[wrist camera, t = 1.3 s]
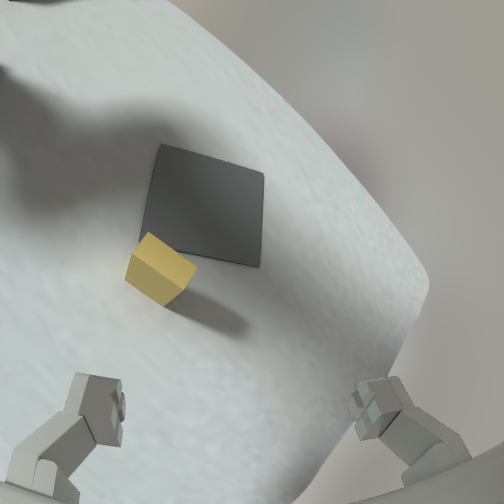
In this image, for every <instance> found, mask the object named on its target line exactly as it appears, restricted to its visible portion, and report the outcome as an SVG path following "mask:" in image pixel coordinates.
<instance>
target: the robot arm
mask: <svg viewBox="0 0 504 504" xmlns="http://www.w3.org/2000/svg"><path fill="white" fill-rule="evenodd" d="M356 387H357V391H356V392H354V393H353V394H352V395H351V397H350V399H349V403H348V409H349V414H350V416H351V418H352V419H354V420H355V421H356V424H355V429H356V432H357V434H358V437H359V439H360V441H362V440H368V439H373V438H379V437H380V438H379V439H380V440H381V441H382V442H383V443H384V444H385V445H386V446H388V447H389V448H390V449H391V450H392V451H393V452H394V453H395V454H396V455H397V456H398V457H400V458H401V459H402V460H403V461H404V462H405V463H406V464H407V465H409V466H410V468H408V469H407V470H406V471H405V472H404V473H403V474H402V476H401V478H402V480H403V483H404V486H405V487H404V488H401V489H399V490H396V491H392V492H389V493H386V494H383V495H380V496H377V497H373V498H369V499H366V500H362V501H358V502H354V503H350V504H504V442H502V443H500V444H498V445H497V446H495V447H493V448H491V449H489V450H488V451H486V452H484V453H482V454H480V455H478V456H476V457H474V458H472V457H471V455H470V453H469V451H468V449H467V448H466V446H465V444H464V442H463V440H462V438H461V436H460V435H459V434H458V433H456V432H455V431H453V430H452V429H450V428H449V427H447V426H445V425H444V424H443V423H441V422H440V421H438V420H437V419H435V418H434V417H432V416H431V415H429V414H428V413H426V412H425V411H423V410H422V409H420V408H419V407H415V406H414V405H413V403H412V401H411V399H410V397H409V396H408V394H407V392H406V390H405V388H404V386H403V384H402V383H401V381H400V379H399V378H398V377H397V376H392V377H385V378H376V379H368V380H362V381H360V382H359V383H358V385H357V386H356ZM121 391H122V382H121V379H114V378H108V377H102V376H96V375H90V374H84V373H78V372H77V373H76V374H75V375H74V377H73V380H72V383H71V387H70V390H69V393H68V397H67V400H66V403H65V407H64V410H63V412H61V411H59V412H57V413H56V414H55V415H54V416H53V417H51V418H50V419H49V420H48V421H47V422H45V423H44V424H43V425H42V426H41V427H39V428H38V429H37V430H36V431H35V432H33V433H32V434H31V435H30V436H28V437H27V438H26V439H25V440H24V441H22V442H21V443H20V444H19V445H18V446H16V447H15V448H14V450H13V453H12V457H11V461H10V464H9V468H8V472H7V476H6V480H5V482H2V481H0V504H79V496H80V492H79V491H78V489H77V488H76V487H75V486H74V485H73V484H72V483H71V481H70V480H69V479H68V478H69V476H70V475H71V474H72V473H73V472H74V471H75V470H76V468H77V467H78V466H79V465H80V464H81V463H82V462H83V460H84V459H85V458H86V457H87V456H88V455H89V454H90V452H91V451H92V450H93V449H94V448H95V447H96V446H97V445H96V444H100V445H107V446H115V447H121V441H122V434H123V429H122V426H121V422H122V421H124V419H125V407H126V403H125V395H124V393H123V392H121Z"/></svg>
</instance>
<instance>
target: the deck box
mask: <svg viewBox="0 0 504 504" xmlns="http://www.w3.org/2000/svg"><path fill="white" fill-rule="evenodd" d="M197 268H198V266H196V265H195V264H193V263H192V262H190V261H189V260H188V259H186V258H185V257H183V256H182V255H180V254H179V253H178V252H176V251H175V250H173V249H172V248H171V247H169V246H168V245H166V244H165V243H163V242H162V241H161V240H159V239H158V238H156V237H155V236H154V235H152V234H151V233H150V232H148V233H147V234H146V235H145V237H144V238H143V239H142V241H141V242H140V243H139V245H138V246H137V247H136V249H135V250H134V252H133V253H132V255H131V259H130V262H129V266H128V269H127V273H126V277H125V280H126V281H127V282H128V283H130V284H131V285H133V286H134V287H135V288H137V289H138V290H140V291H141V292H143V293H144V294H145V295H147V296H148V297H150V298H151V299H153V300H154V301H156V302H157V303H159V304H160V305H162V306H163V307H164V306H165V305H166V304H168V303H169V302H170V301H171V300H172V299H174V298H175V297H176V296H177V295H178V294H180V293H181V292H182V291H183V290H184V289H185V287H186V286H187V284H188V282H189V281H190V279H191V278H192V276H193V274H194V273H195V271H196V270H197Z"/></svg>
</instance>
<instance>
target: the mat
mask: <svg viewBox="0 0 504 504" xmlns="http://www.w3.org/2000/svg"><path fill="white" fill-rule="evenodd" d="M262 194H263V173H261V172H258V171H255V170H252V169H248V168H245V167H242V166H239V165H235V164H232V163H229V162H225V161H222V160H218V159H215V158H211V157H208V156H204V155H201V154H197V153H194V152H190V151H186V150H183V149H179V148H175V147H171V146H167V145H163V144H161V146H160V150H159V154H158V158H157V162H156V166H155V170H154V174H153V178H152V182H151V186H150V191H149V195H148V200H147V204H146V209H145V213H144V218H143V223H142V228H141V233H140V239H139V243H140V242H141V241H142V239H143V238H144V237H145V235H146V234H147V233H148V232H150V233H151V234H152V235H154V236H155V237H156V238H158V239H159V240H161V241H162V242H163V243H165V244H166V245H168V246H169V247H171V248H172V249H173V250H175V251H180V252H185V253H190V254H194V255H199V256H204V257H209V258H214V259H219V260H224V261H229V262H234V263H239V264H244V265H249V266H254V267H259V266H260V243H261V219H262Z"/></svg>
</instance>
